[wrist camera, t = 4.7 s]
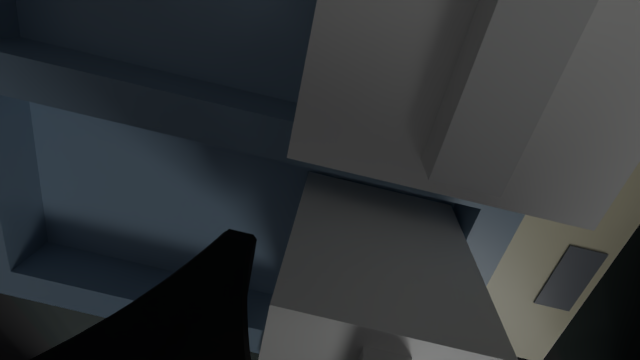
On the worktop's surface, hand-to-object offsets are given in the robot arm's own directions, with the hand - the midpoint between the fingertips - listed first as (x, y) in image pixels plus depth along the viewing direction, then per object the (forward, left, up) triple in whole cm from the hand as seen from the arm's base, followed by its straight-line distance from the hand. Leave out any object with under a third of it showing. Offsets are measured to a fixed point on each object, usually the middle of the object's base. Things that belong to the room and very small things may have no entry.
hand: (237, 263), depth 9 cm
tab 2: (0, -3, -2) cm, 4 cm away
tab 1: (+6, -3, -2) cm, 7 cm away
